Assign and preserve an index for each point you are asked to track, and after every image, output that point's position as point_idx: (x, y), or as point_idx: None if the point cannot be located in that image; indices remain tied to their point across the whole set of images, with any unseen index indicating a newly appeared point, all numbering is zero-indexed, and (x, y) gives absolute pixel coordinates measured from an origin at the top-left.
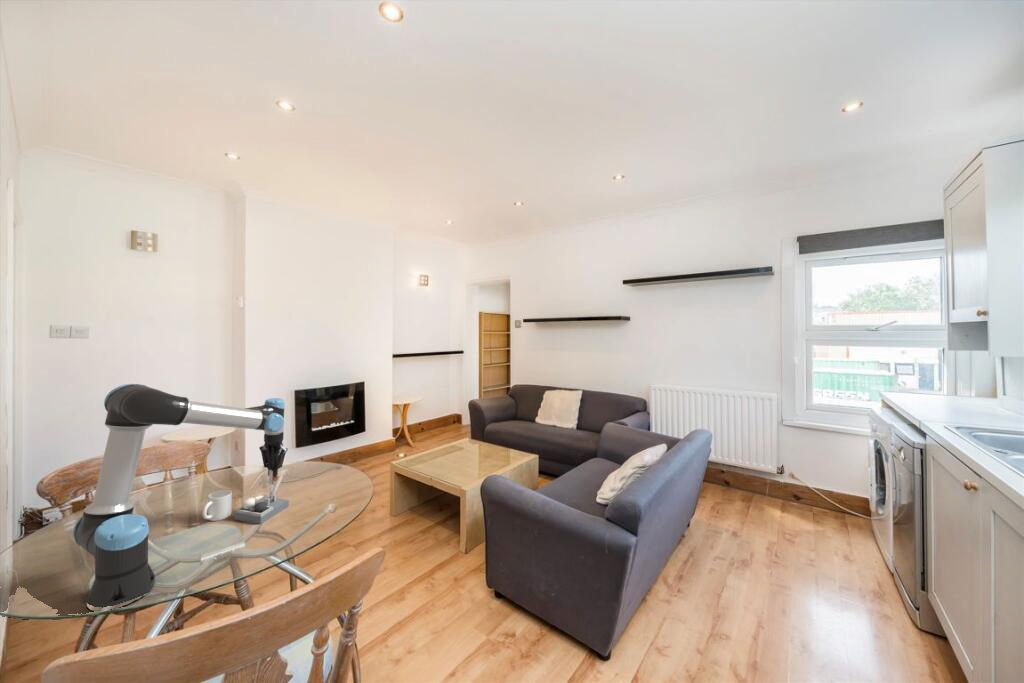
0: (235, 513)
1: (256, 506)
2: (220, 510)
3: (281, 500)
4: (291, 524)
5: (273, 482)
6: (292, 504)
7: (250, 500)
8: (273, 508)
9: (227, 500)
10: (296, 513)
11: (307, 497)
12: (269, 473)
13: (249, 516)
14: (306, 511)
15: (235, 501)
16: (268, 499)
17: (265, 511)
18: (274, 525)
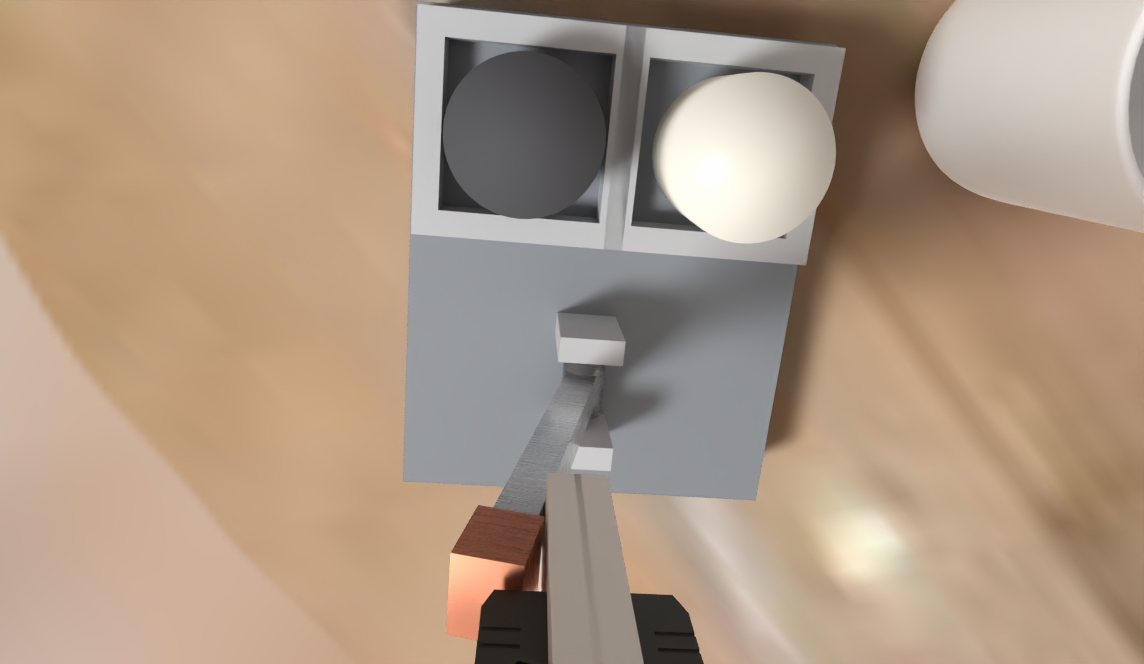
0: (826, 45)
1: (535, 55)
2: None
3: (486, 453)
4: (61, 78)
5: (521, 505)
6: (406, 487)
7: (715, 144)
8: (431, 252)
9: (1063, 48)
10: (208, 323)
11: (360, 647)
12: (626, 615)
13: (603, 21)
14: (132, 386)
15: (1056, 416)
16: (560, 337)
17: (417, 93)
18: (244, 15)
